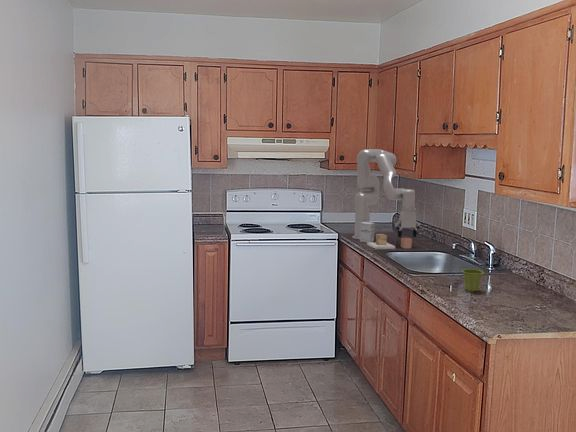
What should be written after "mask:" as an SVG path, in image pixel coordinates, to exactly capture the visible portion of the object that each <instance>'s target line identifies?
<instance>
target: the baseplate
mask: <svg viewBox="0 0 576 432" xmlns="http://www.w3.org/2000/svg"><path fill="white" fill-rule="evenodd" d="M366 245H367V246H369V248H370V247H371V248H373V249H374V248H375V250H391V249H396V245H394V244H391V243H389V242H387V243H386V245H378V244H376V241H375V242H371V243H366Z"/></svg>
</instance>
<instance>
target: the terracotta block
mask: <svg viewBox="0 0 576 432" xmlns="http://www.w3.org/2000/svg"><path fill="white" fill-rule="evenodd" d="M412 243H413V238H411V237H400V248H403V249H412V245H413V244H412Z"/></svg>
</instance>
